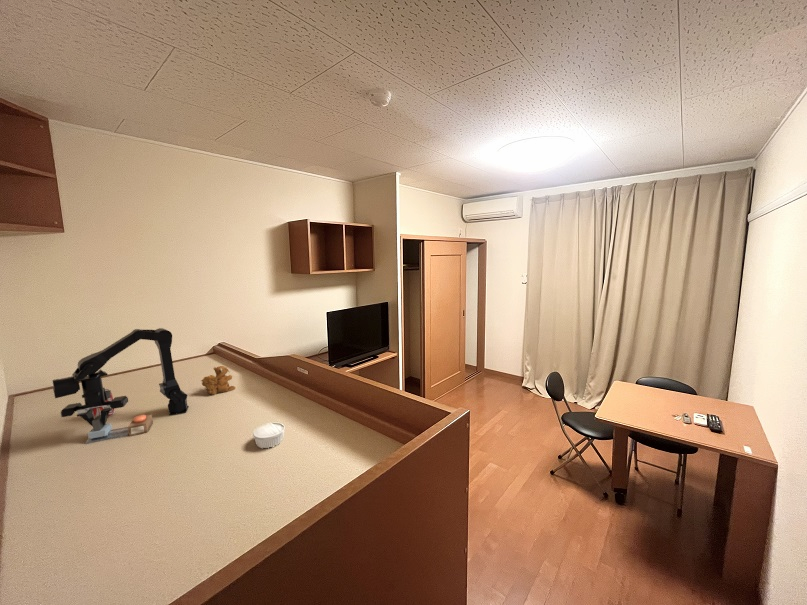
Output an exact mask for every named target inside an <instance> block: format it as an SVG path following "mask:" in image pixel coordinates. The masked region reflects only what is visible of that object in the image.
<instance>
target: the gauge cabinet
mask: <svg viewBox="0 0 807 605" xmlns="http://www.w3.org/2000/svg"><path fill="white" fill-rule="evenodd" d="M153 425H154V421H153V414H150V415H146V420H145V421H143V422H140V423H134V420H133V419H132V421H131V422H130V423H129V424H128V426H127V427H128V433H129V435H128V437H132V436H136V435H143V434H147V433H149V430H151V428H152V427H153Z"/></svg>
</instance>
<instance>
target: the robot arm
mask: <svg viewBox="0 0 807 605" xmlns="http://www.w3.org/2000/svg"><path fill="white" fill-rule="evenodd" d="M140 340H143V341H153V342H154V344H155V346H156V347H157V349H158V353H159V360H160V366H161V372H162V378H163V379H162V382H161V383H158V387H159V388H160V390H159V392H160V393H161V394H162V395H163V396H164V397H166V398H167V399H168V403H167V409H168V413H169V416H175V415H181V414H185V413H187V412H188V409H189V405H188V400H187V399H188V393H186V392H185V391H183V390H182V389H181V387H180V384H179V383H178V381H177V379H176V376H175V369H174V363H173V358H172V357H173V356H172V351H171V350H172V348H171V347H172V344H173V334H172V332H171V331H169V330H168V329H165V328H163V327H159V328H156V329H140V328H135V329H132V331H131V332H129V333H127V334H126V335H125V336H122V337H121V338H120V339H118V340H116V341H115V342H113V343H112V344H110V345H109V346H107V347H105V348H103V349H102V350H100V351H98V352H94V353H91V354H89V355H87V356H85V357H82V358H81V359H80V360H78V361H77V362H78V363H77V368H76V369H75V371H74V372H73V373H72V374H71V375H72V376H68V377H63V378H62V377H61V378H55V379H53V380H52V385H53V386H52V391H53V395H54V399H58V398H63V397H66V396H71V395H75V394H77V392H79V391H80V390H81V389H82V394H81V397H82V399H84V404H82V403H81V402H75V403H70V404H67V405H66V406H65V407H63V408H62V409H61V410H60V417H61V418H65V417H66V418H67V417H71V416H73V415H74V414H75V413H76V412H77V415H76V417H78V418H79V417H80V418H81V419H83V420H84V421H86V422H87V423H88V425H90V426H91V427H92V428H93V425H92V421H93V420H94V419H95V418H94V414H93V409H94V408H100V407H103V410H102V411H101V412H100V413H101V419H102V423H103V425H105V424H107V422H108V414H109V412H110V411H111V410H112V409H115V410H116V409H119V408H120V409H121V408H124V407H125V406H126V405H127V403H129V396H127V395H120V396H116V397H114V398H113V400H112V401H106V402H105V400H108V398H111V393H112V391H111V390H110V389H109V390H108V391H105V389H106V388H105V387H103V379H102V377H105V376H108V372H107V371H104V370H102V368H103V367H104V366H105V365H106V364H107V362H109V361H110V360H111V359H112V358H114V357H115V356H117V355H118V354H120V353H121V352H123V351H124V350H126V349H127V348H129V347H131V346H132V345H134V344H135V343H137V342H138V341H140ZM80 383H81V386H80Z"/></svg>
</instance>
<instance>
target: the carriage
mask: <svg viewBox="0 0 807 605" xmlns="http://www.w3.org/2000/svg"><path fill="white" fill-rule="evenodd" d="M92 425H93V427H92V428H91V429H90V430H89V432H88V433H87V434H88V439H93V438H98V437H103V436H108V432H110V431H111V430H113V426H112V423H111V422H109V423H106V424H105V425H103V423H102V419H101V415H98V416H97V417H96V418H94V420H93V421H92Z"/></svg>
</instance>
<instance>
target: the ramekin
mask: <svg viewBox="0 0 807 605" xmlns="http://www.w3.org/2000/svg"><path fill="white" fill-rule="evenodd" d="M285 430H286V427H285V424H283V423H281V422H279V421H276V422H274V421H273V422H267V423H264V424H261V425H260V426H258V427H256V428H255V429H254V430H253V432H252V436H253V438H254V440H255V444H256V447H258V448H260V449H263V448H268V449H270V448H269V447H272V448H274V447H273V446H275V445H277V444H279V443H280V442H281V441H282V442H283V440H284V435H285ZM282 442H281V443H282ZM281 443H280V444H281ZM280 444H279V445H280ZM277 446H278V445H277ZM275 447H276V446H275Z"/></svg>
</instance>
